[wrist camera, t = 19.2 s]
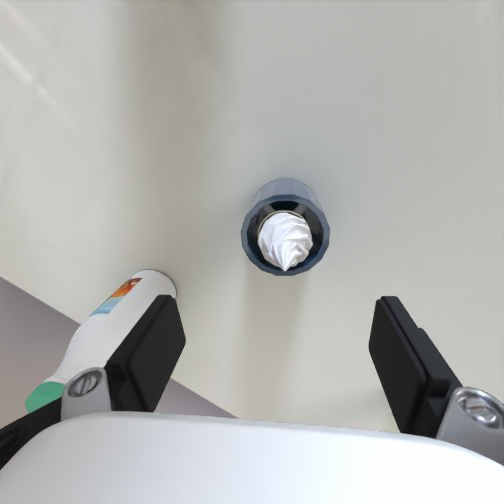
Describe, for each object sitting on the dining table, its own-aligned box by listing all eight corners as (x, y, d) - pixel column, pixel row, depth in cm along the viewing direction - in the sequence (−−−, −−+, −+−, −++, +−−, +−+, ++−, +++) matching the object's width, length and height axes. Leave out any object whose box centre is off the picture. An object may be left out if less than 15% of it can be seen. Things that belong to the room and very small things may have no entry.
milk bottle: (169, 266, 38) (63, 385, 20) (183, 307, 41) (102, 442, 23) (124, 270, 39) (-13, 385, 21) (141, 309, 42) (34, 439, 24)
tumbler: (250, 180, 31) (237, 196, 23) (319, 176, 30) (332, 192, 21) (254, 242, 34) (245, 275, 26) (316, 241, 33) (327, 275, 25)
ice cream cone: (308, 225, 31) (325, 294, 18) (269, 235, 33) (258, 305, 19) (299, 187, 30) (311, 231, 16) (259, 198, 31) (238, 248, 17)
